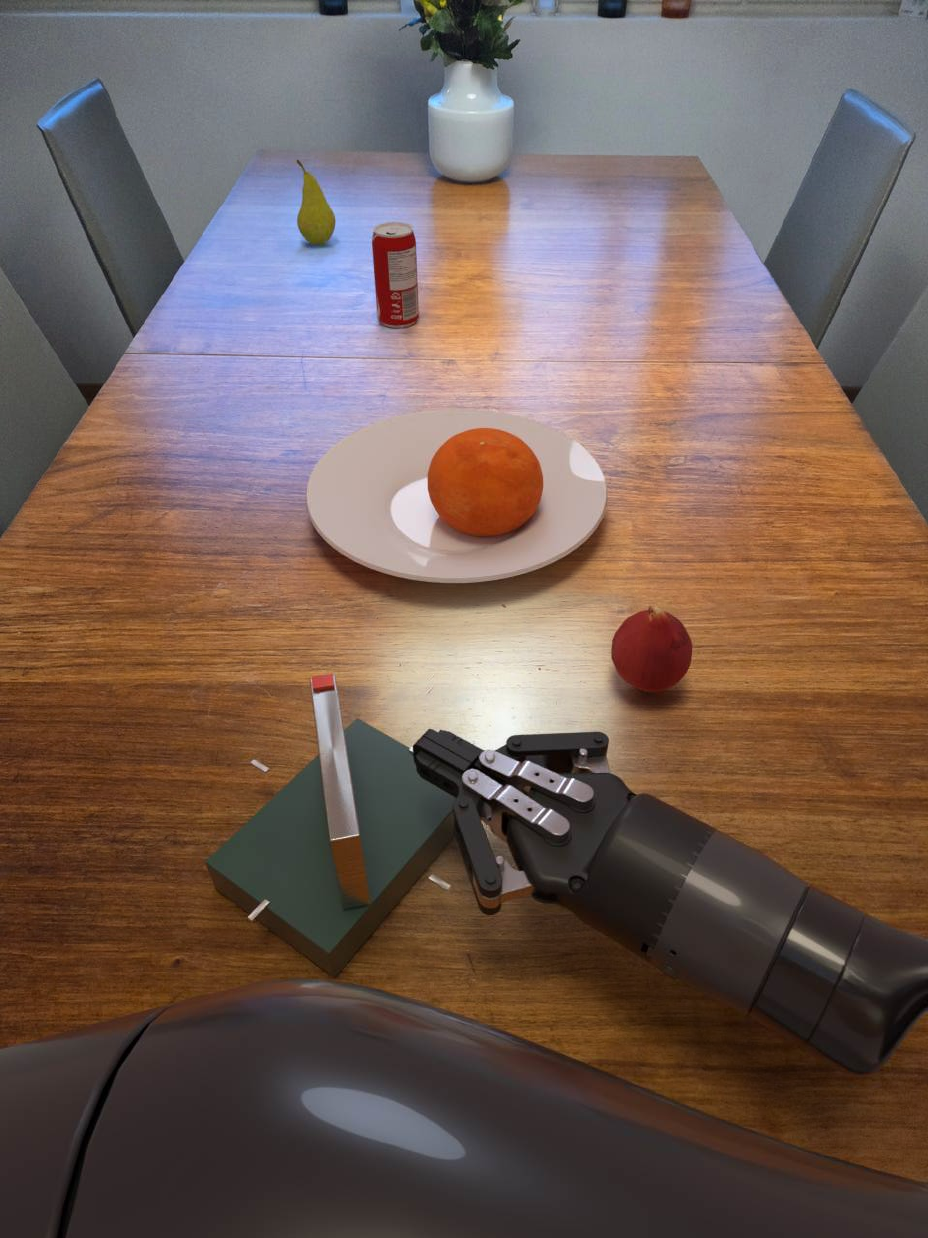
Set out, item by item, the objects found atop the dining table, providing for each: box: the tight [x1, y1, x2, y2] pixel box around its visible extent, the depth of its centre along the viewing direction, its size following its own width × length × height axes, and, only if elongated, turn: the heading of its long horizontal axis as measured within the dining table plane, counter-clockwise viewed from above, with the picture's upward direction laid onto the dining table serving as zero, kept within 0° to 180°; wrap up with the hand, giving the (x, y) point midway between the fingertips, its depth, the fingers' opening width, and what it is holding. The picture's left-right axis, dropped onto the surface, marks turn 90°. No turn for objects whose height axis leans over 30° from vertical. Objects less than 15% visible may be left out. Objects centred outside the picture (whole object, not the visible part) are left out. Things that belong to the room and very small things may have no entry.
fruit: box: [296, 159, 336, 246], centre depth 133 cm, size 6×6×12 cm
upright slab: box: [308, 673, 371, 910], centre depth 52 cm, size 12×2×7 cm, turn 13°
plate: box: [305, 408, 608, 584], centre depth 81 cm, size 28×28×9 cm
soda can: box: [371, 221, 420, 329], centre depth 112 cm, size 6×6×12 cm
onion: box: [610, 605, 693, 693], centre depth 64 cm, size 6×6×8 cm
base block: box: [205, 717, 456, 979], centre depth 55 cm, size 16×16×3 cm
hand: (420, 746), depth 52 cm, fingers closed
